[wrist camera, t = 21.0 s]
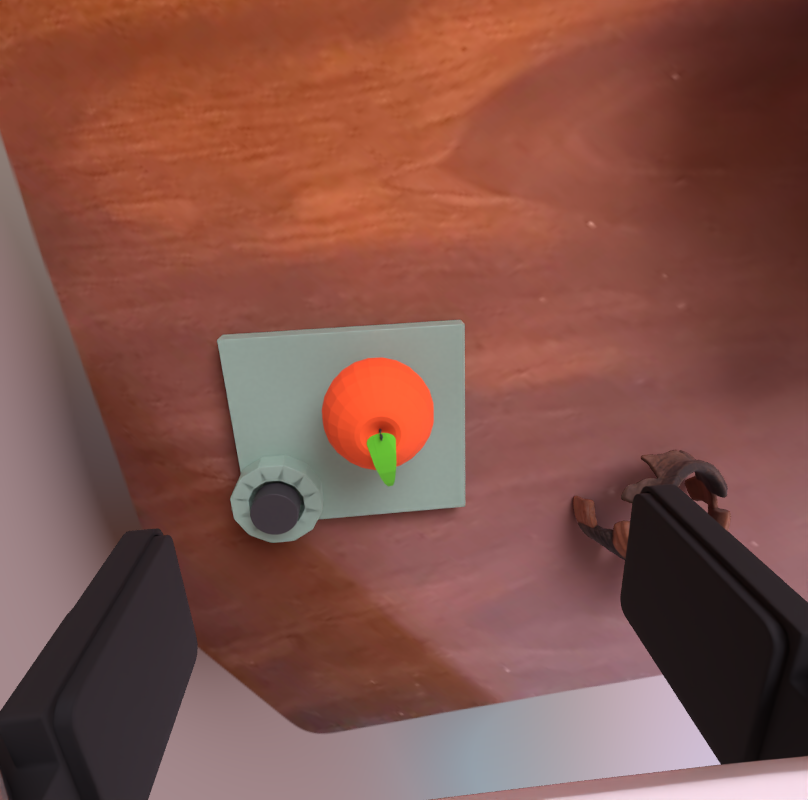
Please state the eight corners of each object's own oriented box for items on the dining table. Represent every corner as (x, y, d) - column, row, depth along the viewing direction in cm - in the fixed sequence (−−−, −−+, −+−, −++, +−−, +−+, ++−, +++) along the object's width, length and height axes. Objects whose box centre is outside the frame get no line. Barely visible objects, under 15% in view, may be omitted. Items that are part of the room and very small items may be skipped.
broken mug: (553, 466, 41) (644, 477, 34) (632, 427, 45) (728, 430, 38) (589, 606, 43) (684, 646, 35) (662, 555, 47) (761, 582, 39)
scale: (246, 521, 40) (238, 546, 37) (213, 335, 35) (201, 347, 32) (461, 503, 41) (469, 525, 38) (460, 319, 36) (469, 329, 33)
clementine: (435, 443, 38) (452, 496, 31) (339, 461, 37) (336, 518, 31) (418, 335, 35) (434, 368, 28) (314, 354, 34) (304, 392, 28)
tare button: (257, 524, 37) (253, 537, 36) (250, 484, 36) (246, 496, 35) (303, 519, 37) (301, 532, 36) (297, 480, 36) (295, 492, 35)
